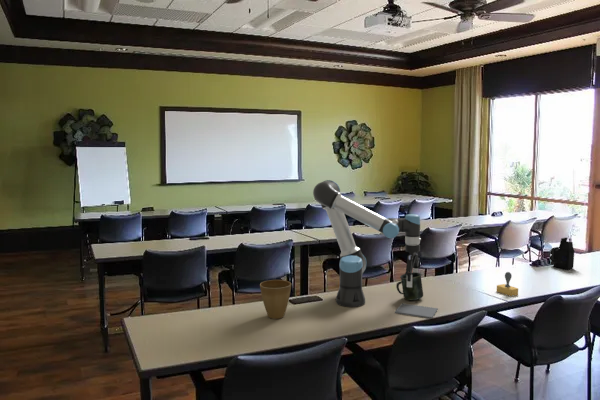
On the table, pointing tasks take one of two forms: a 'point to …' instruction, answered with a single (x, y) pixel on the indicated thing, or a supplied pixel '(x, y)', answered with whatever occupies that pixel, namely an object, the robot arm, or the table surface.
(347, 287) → the robot arm
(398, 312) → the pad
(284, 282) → the plant pot
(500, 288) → the rubber stamp
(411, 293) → the mug
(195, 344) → the table surface
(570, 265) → the camera
